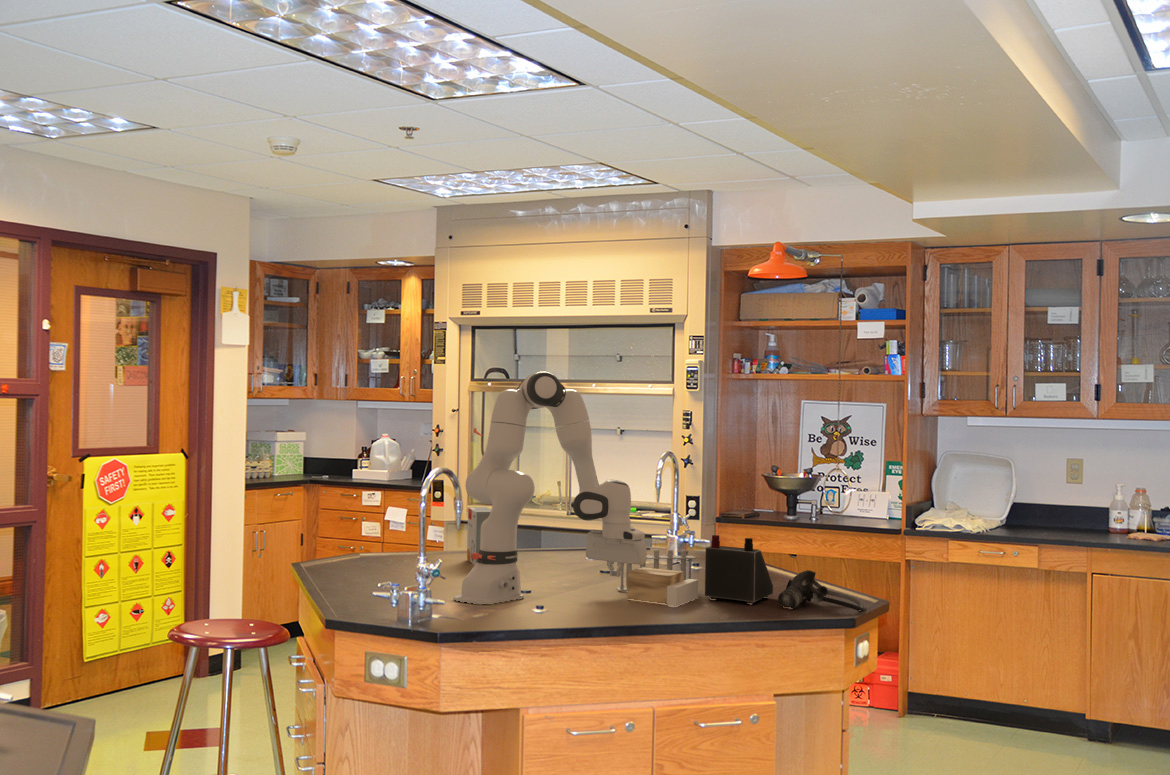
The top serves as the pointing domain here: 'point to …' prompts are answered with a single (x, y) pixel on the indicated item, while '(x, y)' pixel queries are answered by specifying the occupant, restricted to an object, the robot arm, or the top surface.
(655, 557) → the test tube rack
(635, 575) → the oak block
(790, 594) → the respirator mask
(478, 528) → the hard drive box
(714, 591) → the voltmeter
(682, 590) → the board
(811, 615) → the top surface
